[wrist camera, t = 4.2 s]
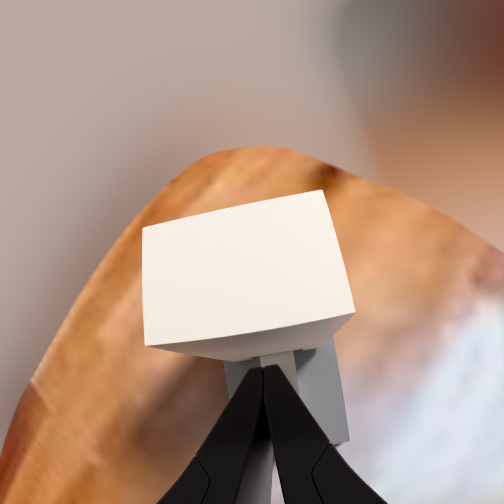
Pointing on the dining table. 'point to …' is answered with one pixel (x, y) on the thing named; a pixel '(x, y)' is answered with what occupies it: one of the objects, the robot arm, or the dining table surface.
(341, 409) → the board
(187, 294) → the white cardboard box
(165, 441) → the dining table surface
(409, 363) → the dining table surface
